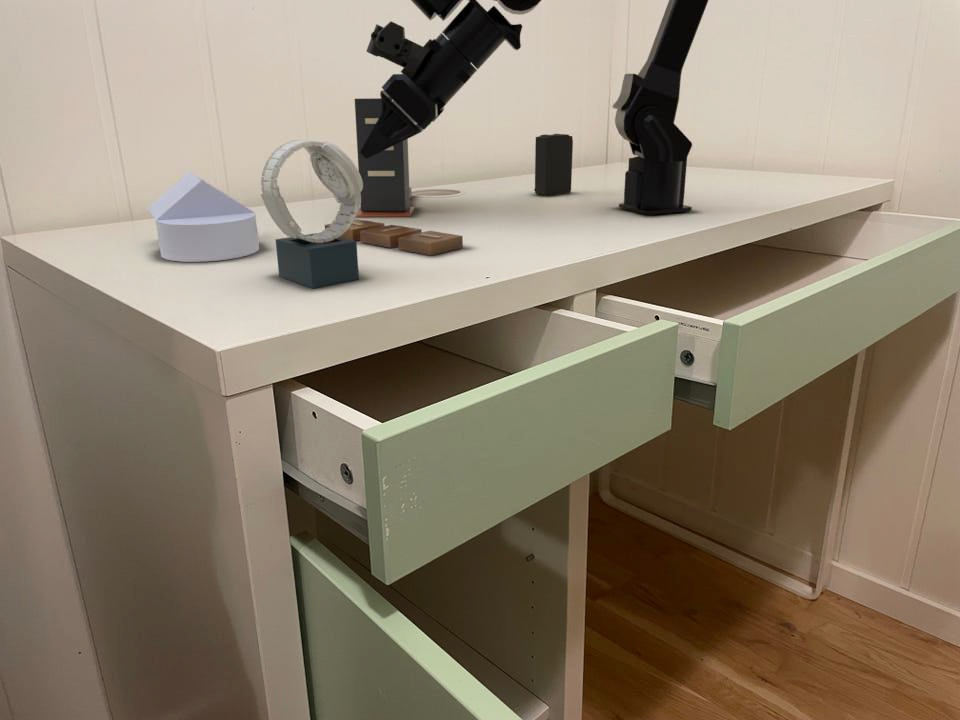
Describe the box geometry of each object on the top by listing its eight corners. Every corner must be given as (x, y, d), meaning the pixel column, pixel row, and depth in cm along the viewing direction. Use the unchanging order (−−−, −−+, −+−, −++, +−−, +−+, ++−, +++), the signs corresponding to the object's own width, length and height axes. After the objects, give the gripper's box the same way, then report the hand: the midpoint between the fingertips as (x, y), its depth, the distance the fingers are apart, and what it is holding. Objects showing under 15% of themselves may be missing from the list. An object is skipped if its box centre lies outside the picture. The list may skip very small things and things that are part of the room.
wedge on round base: (152, 240, 80) (166, 265, 69) (142, 174, 78) (154, 189, 67) (241, 232, 84) (268, 255, 73) (234, 168, 82) (260, 182, 71)
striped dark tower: (366, 207, 98) (361, 98, 94) (410, 207, 98) (406, 98, 94) (360, 211, 95) (354, 98, 91) (405, 211, 94) (401, 98, 90)
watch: (378, 275, 65) (371, 139, 62) (292, 292, 60) (278, 145, 57) (342, 264, 69) (333, 136, 66) (259, 279, 64) (244, 141, 61)
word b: (410, 216, 93) (409, 205, 92) (351, 216, 93) (350, 205, 92) (421, 196, 108) (420, 186, 108) (370, 196, 108) (370, 187, 108)
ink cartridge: (560, 191, 111) (561, 133, 109) (571, 193, 110) (573, 134, 107) (534, 194, 109) (534, 135, 106) (545, 196, 107) (546, 135, 104)
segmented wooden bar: (463, 248, 75) (462, 234, 75) (431, 255, 72) (431, 241, 72) (357, 229, 85) (356, 217, 84) (325, 236, 82) (324, 223, 81)
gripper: (414, 4, 96) (332, 99, 100) (398, -12, 79) (299, 105, 82) (479, 72, 99) (396, 162, 103) (477, 71, 81) (377, 180, 85)
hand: (368, 151), depth 93 cm, fingers open, 9 cm apart
